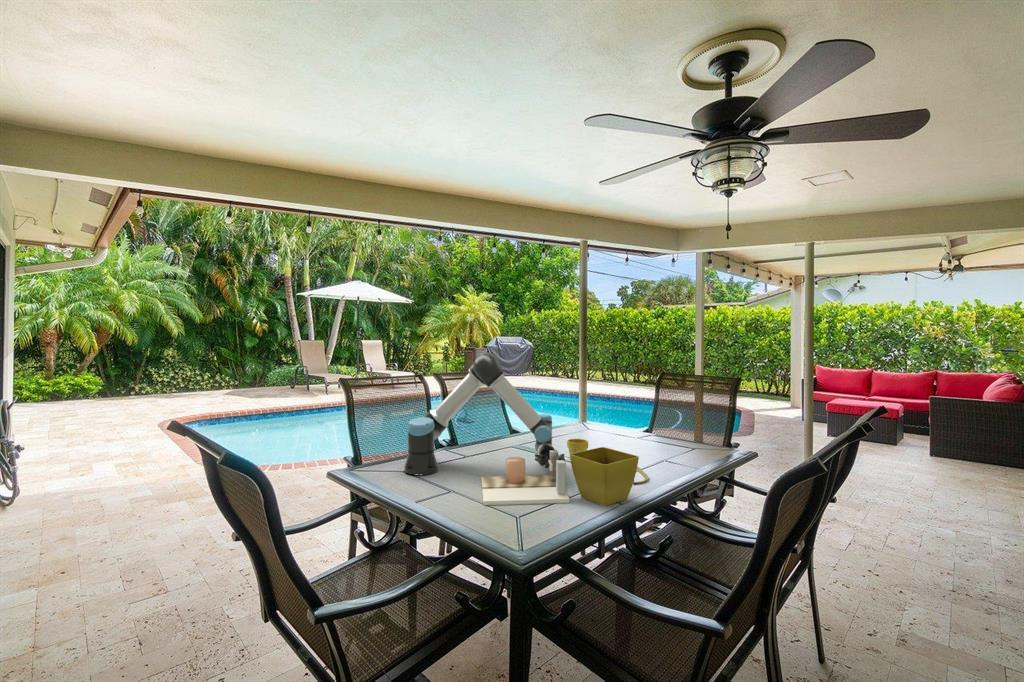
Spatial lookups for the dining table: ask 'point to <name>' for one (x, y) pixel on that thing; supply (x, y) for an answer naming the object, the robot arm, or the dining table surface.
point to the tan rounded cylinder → (515, 470)
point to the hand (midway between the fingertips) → (556, 467)
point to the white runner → (530, 492)
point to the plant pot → (577, 445)
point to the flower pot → (604, 474)
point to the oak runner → (529, 480)
